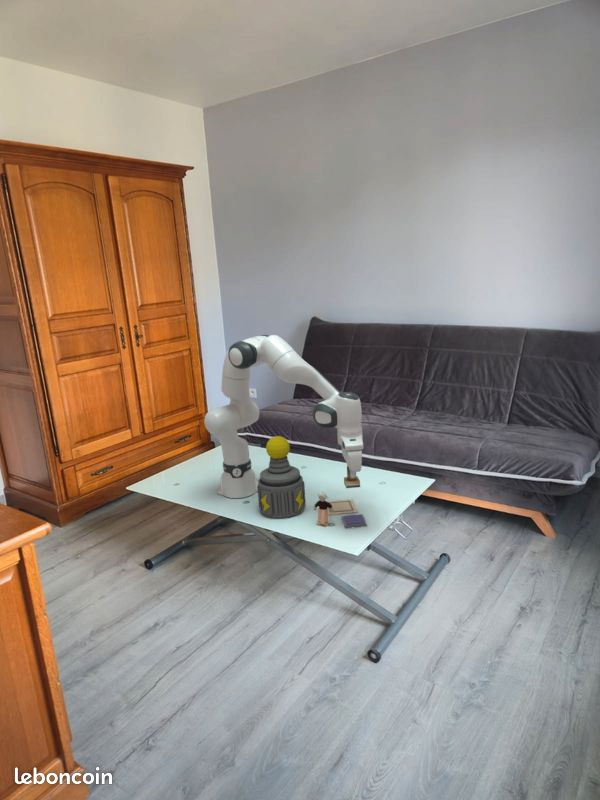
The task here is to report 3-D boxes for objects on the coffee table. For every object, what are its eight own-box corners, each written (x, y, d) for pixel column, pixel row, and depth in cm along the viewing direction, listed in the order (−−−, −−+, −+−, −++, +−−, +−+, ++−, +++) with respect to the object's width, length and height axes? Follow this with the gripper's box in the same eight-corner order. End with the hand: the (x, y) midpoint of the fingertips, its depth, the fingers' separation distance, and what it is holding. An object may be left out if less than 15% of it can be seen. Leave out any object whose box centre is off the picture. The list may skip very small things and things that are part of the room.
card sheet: (323, 502, 216) (323, 501, 216) (352, 499, 217) (352, 498, 217) (326, 515, 205) (326, 514, 205) (358, 512, 205) (358, 511, 205)
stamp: (344, 483, 197) (343, 464, 195) (357, 481, 197) (357, 463, 195) (346, 488, 192) (345, 469, 190) (360, 487, 192) (359, 468, 190)
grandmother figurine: (313, 526, 196) (311, 494, 194) (314, 521, 200) (312, 489, 197) (334, 526, 195) (332, 494, 192) (335, 522, 199) (333, 489, 196)
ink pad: (341, 518, 201) (341, 515, 201) (362, 516, 202) (362, 513, 201) (344, 528, 193) (344, 525, 193) (366, 526, 194) (366, 522, 194)
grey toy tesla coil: (280, 495, 226) (275, 427, 219) (316, 505, 214) (311, 433, 207) (248, 512, 212) (242, 439, 205) (285, 524, 200) (279, 447, 193)
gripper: (336, 430, 200) (338, 465, 203) (345, 447, 180) (347, 486, 183) (353, 429, 200) (355, 464, 204) (364, 446, 181) (365, 484, 184)
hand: (351, 474), depth 193 cm, fingers closed on stamp, 3 cm apart
